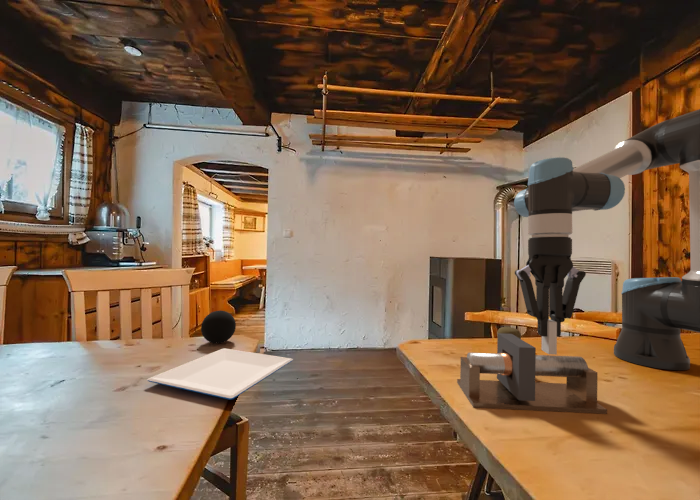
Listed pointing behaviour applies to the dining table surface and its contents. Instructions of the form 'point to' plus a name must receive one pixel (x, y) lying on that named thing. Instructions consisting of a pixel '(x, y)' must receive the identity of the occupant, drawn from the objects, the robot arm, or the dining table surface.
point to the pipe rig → (547, 395)
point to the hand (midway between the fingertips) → (548, 352)
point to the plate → (222, 372)
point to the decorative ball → (218, 327)
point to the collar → (518, 366)
